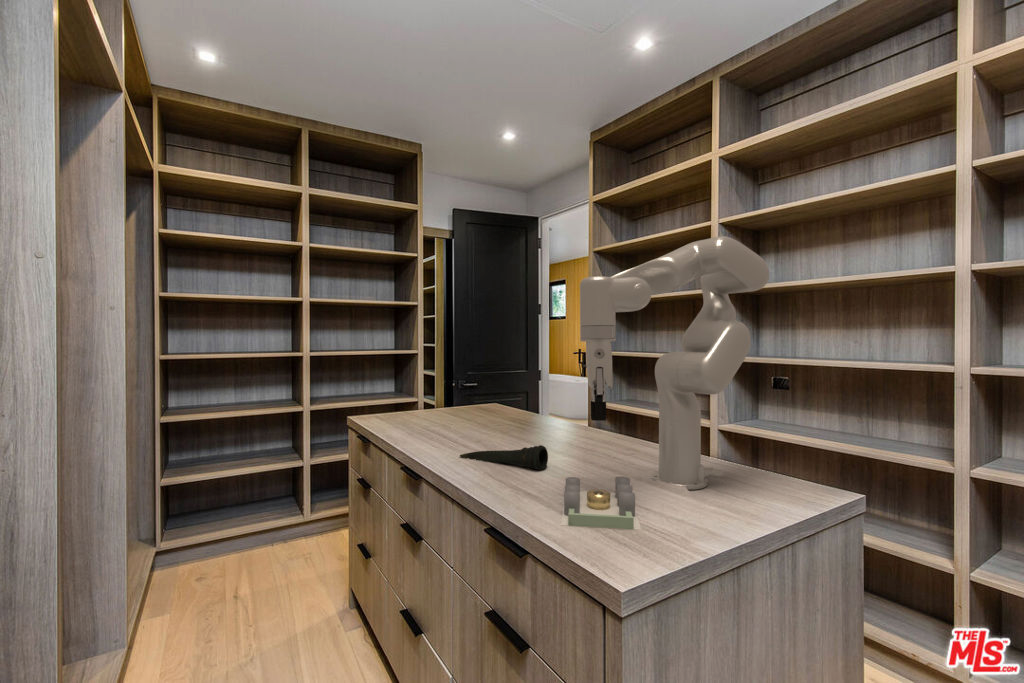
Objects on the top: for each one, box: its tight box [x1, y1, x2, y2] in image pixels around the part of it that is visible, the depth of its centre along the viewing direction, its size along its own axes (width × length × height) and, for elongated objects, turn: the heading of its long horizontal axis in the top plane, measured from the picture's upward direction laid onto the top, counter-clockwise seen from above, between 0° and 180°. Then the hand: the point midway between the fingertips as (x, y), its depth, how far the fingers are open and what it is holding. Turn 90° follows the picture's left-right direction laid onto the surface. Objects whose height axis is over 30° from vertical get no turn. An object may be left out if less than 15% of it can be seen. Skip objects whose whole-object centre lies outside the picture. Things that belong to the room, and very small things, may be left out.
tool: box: [459, 444, 549, 472], centre depth 135 cm, size 28×6×7 cm, turn 54°
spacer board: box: [560, 476, 642, 531], centre depth 95 cm, size 14×20×5 cm
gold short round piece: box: [587, 489, 610, 510], centre depth 96 cm, size 5×5×3 cm
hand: (598, 419), depth 103 cm, fingers closed
